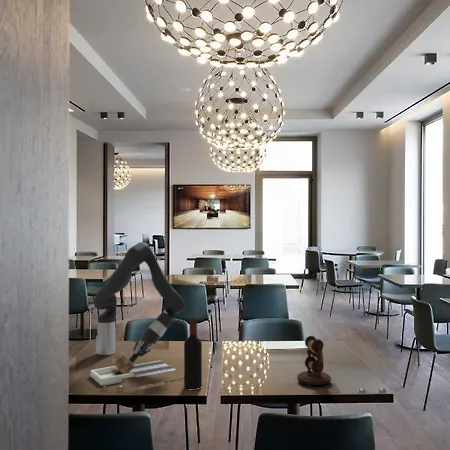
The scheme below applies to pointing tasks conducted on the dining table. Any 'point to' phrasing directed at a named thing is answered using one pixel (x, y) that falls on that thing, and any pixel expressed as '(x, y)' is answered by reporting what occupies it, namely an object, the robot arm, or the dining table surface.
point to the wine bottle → (192, 359)
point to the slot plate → (150, 368)
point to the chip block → (122, 363)
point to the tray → (108, 376)
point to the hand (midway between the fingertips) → (130, 361)
